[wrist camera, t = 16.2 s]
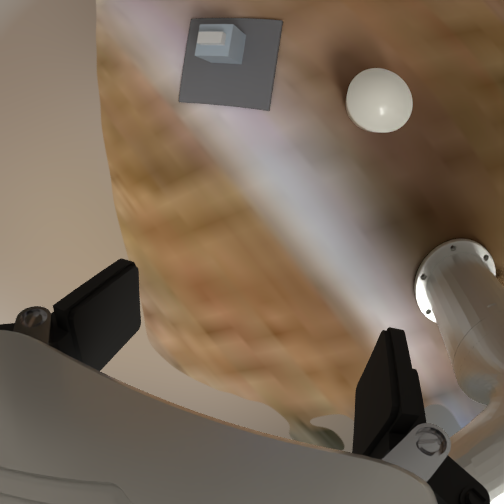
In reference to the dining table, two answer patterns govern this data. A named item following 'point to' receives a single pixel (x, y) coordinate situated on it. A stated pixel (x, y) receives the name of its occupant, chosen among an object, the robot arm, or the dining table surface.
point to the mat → (234, 67)
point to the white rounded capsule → (378, 101)
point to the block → (220, 43)
